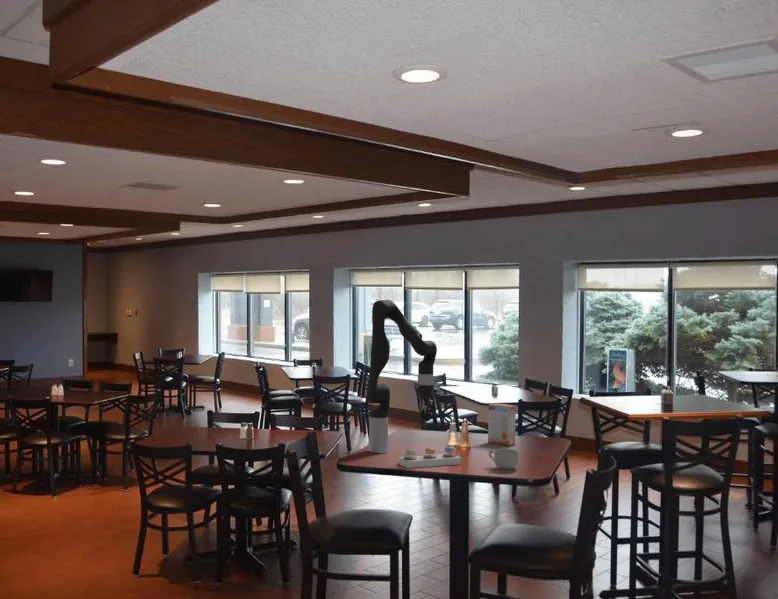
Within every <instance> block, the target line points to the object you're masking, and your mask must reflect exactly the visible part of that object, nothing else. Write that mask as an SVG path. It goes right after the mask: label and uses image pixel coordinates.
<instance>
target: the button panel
mask: <svg viewBox="0 0 778 599" xmlns="http://www.w3.org/2000/svg"><path fill="white" fill-rule="evenodd" d="M398 464H399V465H400V466H402V467H404V468H407V469H415V467H417V468H426V467H427V468H429V467H430V468H431V467H442V466H455V465H456V466H457V465H462V457H460V456H458V455H456V454H455V453H441V454H425V455H406V456H398Z"/></svg>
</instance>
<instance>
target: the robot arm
mask: <svg viewBox="0 0 778 599" xmlns="http://www.w3.org/2000/svg"><path fill="white" fill-rule="evenodd" d="M386 319H387V320H388V319H389V320H391V321H392V322H394V323H395V324H396V325H397V327H398V330H399V333H400V335H401V336H402V337H403V338H404V339H405V340H406V341H407V342H408V343H409V344H410V346H411V347H412V349H413V350H414V352H415V353H416V354H417V355H418V356H421V357H423V358H422V360H421V361H419V363H418V369H417V370H418V374H417V394H419V397H417V398H416V400H417V408H418V410H419V411H420V420H421V421H425V422H430V415H431V414H430V413H433V409H434V404H435V401H434V400H432V396H431V395H433V394H435V393H434V392H435V391H434V390H435V388H434V387H435V385H434V384H435V383H434V381H435V380H434V379H435V378H434V365H435V362H436V361H435V360H436V357H437V351H438V347H437V344H436V342H434V341H433V340H424V339H423V334H422V333H421V332H420V330H418V329H417V328H416V327H415V326H414V325H413V324H412V323H411V322H410V321H409V320H408V319H407V318H406V316H405V315H404V314H403V312H402V310H400V308H399V307H398V305H396V303H395V302H394V301H392V300H391V299H384V300H383V299H381V300H376V301H375V302H373V305H372V308H371V323H372V325H371V326H372V331H371V332H372V334H371V349H370V363H369V364H370V365H369V374H368V380H367V386H366V399H367V402H368V403H370V404H378V406H377V407H375V408H373V409H372V410H370V411H369V426H368V428H369V436H368V437H369V438H368V440H369V441H368V443H369V444H368V448H369V449H368V451H369V452H370V453H371V454H386V453H388V450H389V449H388V447H389V445H388V444H389V414H390V402H391V401H390V400H391V391H390V386H389V385H388V384H384V383H382V384H380V383H379V384H378V382H379V377H380V375H381V373H382V371H383V370H384V368H385V367H386V366H387V364H388V362H389V360H390V355H391V354H390V353H391V352H390V351H391V345H390V341H389V339H388V337H387V334H386V330H385V322H386Z"/></svg>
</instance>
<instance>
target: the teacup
mask: <svg viewBox="0 0 778 599" xmlns="http://www.w3.org/2000/svg"><path fill="white" fill-rule="evenodd" d="M492 453H493V454H494V457H493V455H492ZM488 456H489V458H490V459H491V460H492V461H493V463H494V464H495V466H496V467H497V468H498V469H500V470H501V471H502V470H503V471H513V470H514V469H515V468H516V467H517V466H518V465H519V451H518V450H516V449H512V448H499V449H498V448H497V449H491V450H489V451H488Z"/></svg>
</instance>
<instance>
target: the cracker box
mask: <svg viewBox="0 0 778 599" xmlns="http://www.w3.org/2000/svg"><path fill="white" fill-rule="evenodd" d="M516 411H517V410H516V405H514V404H513V405H511V404H504V403H497V402H494V403H488V420H487V421H488V424H487V425H488V432H487V443H491V444H494V445H495V444H497V445H502V446H508V447H509V446H515V445H516Z"/></svg>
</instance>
